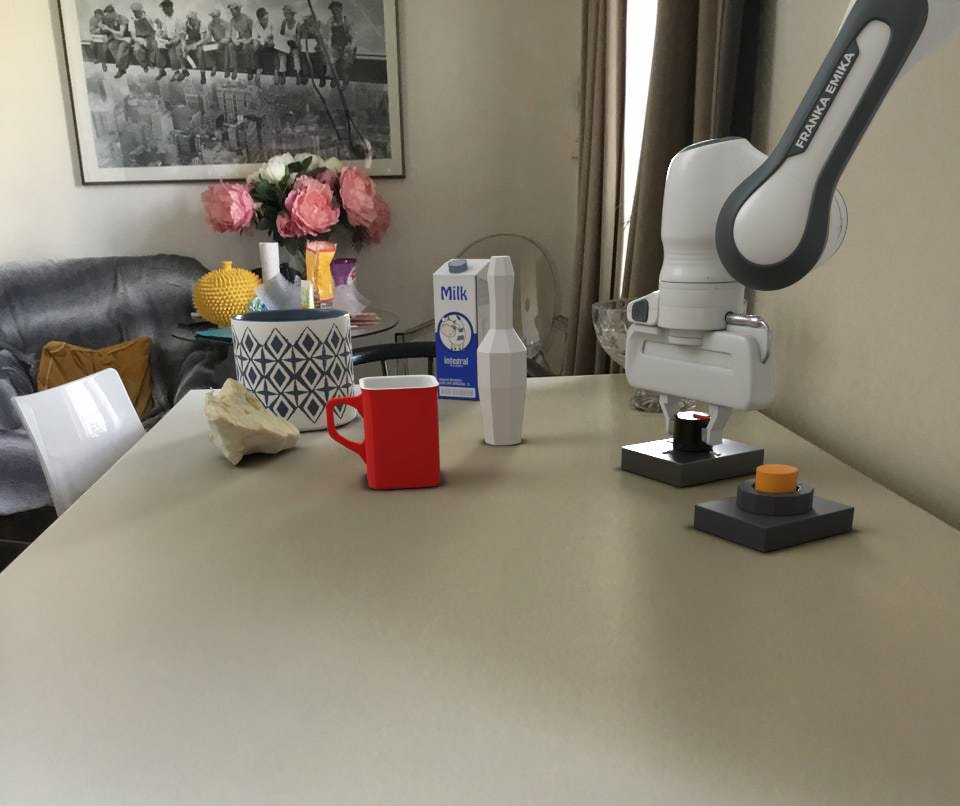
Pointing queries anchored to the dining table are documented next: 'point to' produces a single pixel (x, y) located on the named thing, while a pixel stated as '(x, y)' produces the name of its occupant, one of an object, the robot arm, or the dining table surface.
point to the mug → (395, 430)
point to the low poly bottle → (502, 361)
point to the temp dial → (690, 431)
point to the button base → (773, 517)
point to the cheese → (245, 424)
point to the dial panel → (691, 462)
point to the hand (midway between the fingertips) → (692, 439)
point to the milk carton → (460, 324)
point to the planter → (296, 363)
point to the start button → (776, 478)
